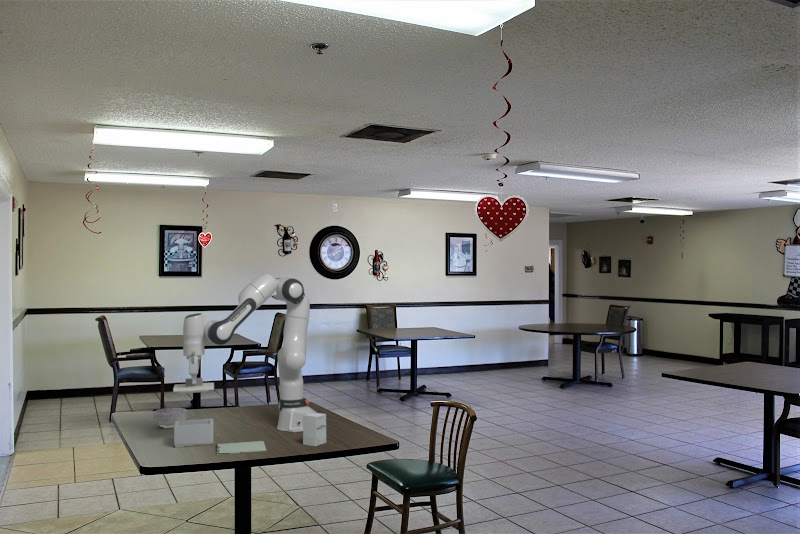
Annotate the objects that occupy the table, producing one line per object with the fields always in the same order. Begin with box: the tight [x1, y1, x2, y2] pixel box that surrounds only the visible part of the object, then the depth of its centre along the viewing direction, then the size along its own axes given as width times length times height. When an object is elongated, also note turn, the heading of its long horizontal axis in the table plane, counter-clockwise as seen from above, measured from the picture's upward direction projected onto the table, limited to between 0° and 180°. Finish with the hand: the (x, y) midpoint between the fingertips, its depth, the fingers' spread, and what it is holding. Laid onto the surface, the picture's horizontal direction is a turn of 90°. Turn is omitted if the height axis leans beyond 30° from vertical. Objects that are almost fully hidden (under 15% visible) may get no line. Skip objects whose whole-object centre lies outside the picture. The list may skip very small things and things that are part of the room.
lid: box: [172, 377, 215, 394], centre depth 300 cm, size 17×13×5 cm
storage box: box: [173, 418, 215, 445], centre depth 300 cm, size 16×12×9 cm
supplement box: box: [302, 412, 327, 447], centre depth 297 cm, size 7×7×13 cm
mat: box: [217, 440, 267, 454], centre depth 291 cm, size 20×16×1 cm
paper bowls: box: [153, 407, 188, 426], centre depth 334 cm, size 15×15×8 cm
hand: (194, 382), depth 300 cm, fingers closed on lid, 3 cm apart
